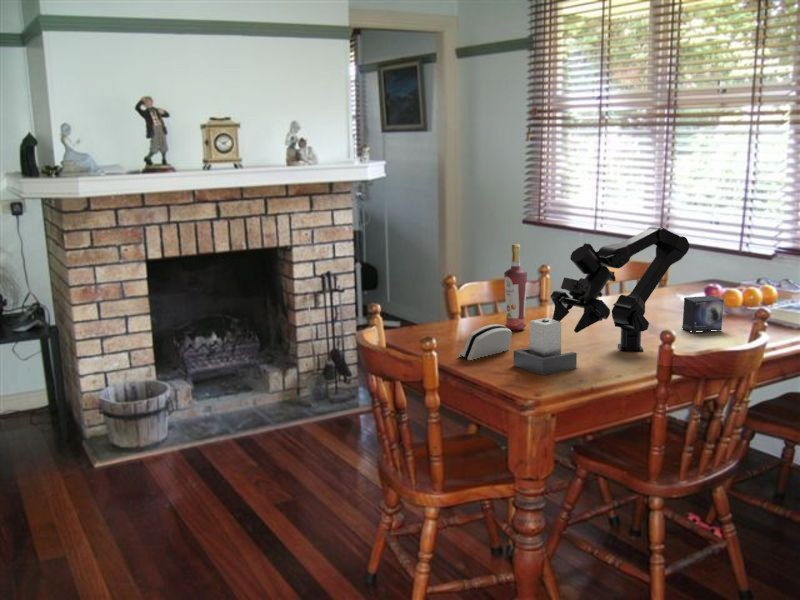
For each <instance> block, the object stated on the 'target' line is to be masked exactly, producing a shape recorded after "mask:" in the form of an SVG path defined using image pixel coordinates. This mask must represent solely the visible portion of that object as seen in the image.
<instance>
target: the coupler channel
mask: <svg viewBox="0 0 800 600" xmlns="http://www.w3.org/2000/svg"><path fill="white" fill-rule="evenodd" d="M529 350H530V346H529V347H525V348H521V349H520V348H519V349H515V350H513V366H514V367H516V368H519V369H522V370H525V371H527V370H528V372H531V373H533V374H536V373H537V374H536V375H539V374H540V376H542V375H544V376H548V375H551V374H552V373H553V374H556V373H561V372H566V371H570V370H571V371H572V370H575V369H577V356H578V355H577V352H574V351H570V352H566V353H561V354H560V355H555V356H550V357H545V358H542V357H539V356H536V355H533V354H530V353H529ZM547 374H548V375H547Z"/></svg>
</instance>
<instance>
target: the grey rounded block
mask: <svg viewBox="0 0 800 600" xmlns="http://www.w3.org/2000/svg"><path fill="white" fill-rule="evenodd" d="M512 336H513V331H511V330H510V329H508V328H507V327H506V326H505V325H502V324H497V323H496V324H495V323H494V324H488V325H485V326H482V327H480V328H477V329H475V330H474V331H473V332H471V333H470V334H468V337H467V340H466V343H465V346H464V348H463V350H462V351H460V352H459V355H458V358H459V357H461V358H465V357H467V359H466V360H468V361H469V360H472V361H474V360H473V359H475V360H478V359H477V358H479V359H481V358H480V357H483V358H485V357H484V356H486V357H489V356H488V355H490V356H492V354H493V355H496V353H497V354H500V353H504V352H507V350H508V351H509V350H510V346H511V341H512ZM503 351H504V352H503ZM462 356H463V357H462Z"/></svg>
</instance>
